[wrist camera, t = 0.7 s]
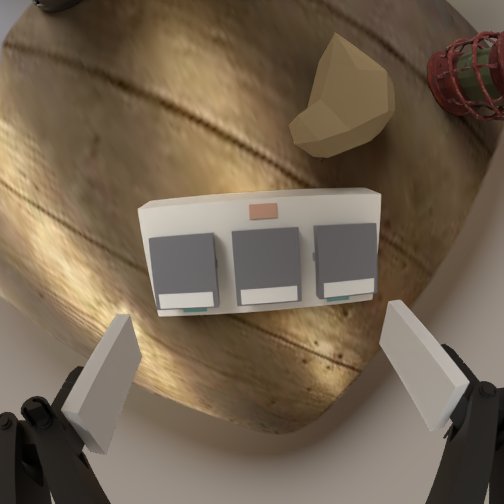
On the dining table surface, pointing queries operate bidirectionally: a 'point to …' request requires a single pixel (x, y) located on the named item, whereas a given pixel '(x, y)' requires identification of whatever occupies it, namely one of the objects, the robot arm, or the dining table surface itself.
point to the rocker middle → (267, 266)
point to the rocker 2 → (345, 259)
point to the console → (259, 217)
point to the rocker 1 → (184, 271)
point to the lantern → (470, 77)
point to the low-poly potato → (344, 102)
